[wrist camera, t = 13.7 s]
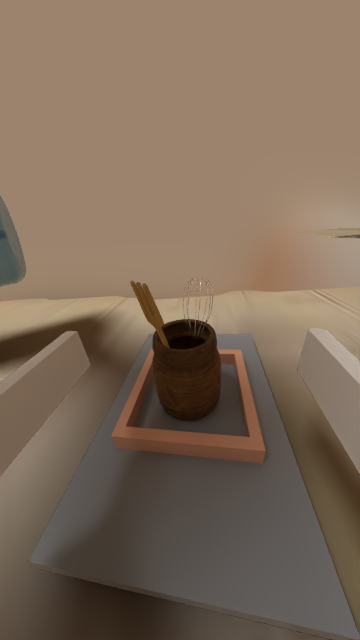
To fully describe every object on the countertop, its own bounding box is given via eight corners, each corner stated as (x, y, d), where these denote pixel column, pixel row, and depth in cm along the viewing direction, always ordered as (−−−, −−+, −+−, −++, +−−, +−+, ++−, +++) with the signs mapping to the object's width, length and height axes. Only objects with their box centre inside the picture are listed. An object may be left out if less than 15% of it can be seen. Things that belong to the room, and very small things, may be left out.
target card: (40, 569, 10) (13, 552, 9) (150, 342, 30) (147, 325, 28) (348, 643, 8) (376, 636, 6) (249, 342, 27) (251, 324, 26)
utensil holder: (233, 391, 18) (240, 263, 12) (189, 442, 14) (172, 291, 9) (187, 365, 22) (178, 259, 16) (144, 399, 18) (111, 276, 12)
